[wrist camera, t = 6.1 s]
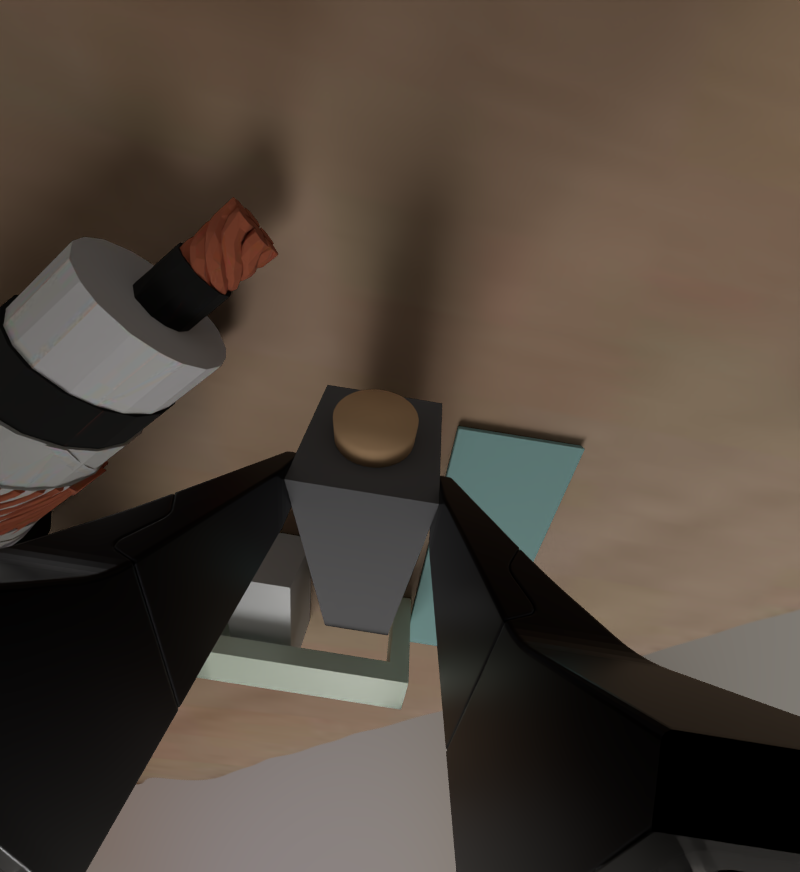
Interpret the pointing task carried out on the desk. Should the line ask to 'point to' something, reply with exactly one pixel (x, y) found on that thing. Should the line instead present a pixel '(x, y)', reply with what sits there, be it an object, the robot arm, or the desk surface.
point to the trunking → (276, 597)
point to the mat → (502, 497)
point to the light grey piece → (317, 667)
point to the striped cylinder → (107, 356)
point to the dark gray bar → (365, 500)
